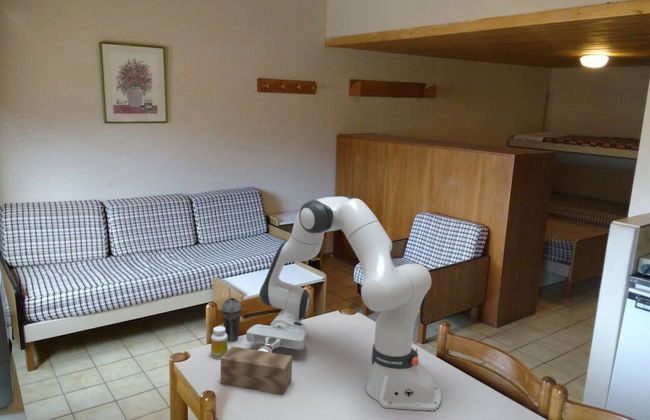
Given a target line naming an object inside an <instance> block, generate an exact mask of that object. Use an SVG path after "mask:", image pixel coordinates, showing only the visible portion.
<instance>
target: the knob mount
mask: <svg viewBox="0 0 650 420" xmlns="http://www.w3.org/2000/svg"><path fill="white" fill-rule="evenodd" d="M292 369H293V355H288V354H281V353H277V352H276V353H275V352H272V353H270V352H264V351H258V349H252V348H251V349H250V348H245V347H244V348H243V347H239V346H234V345H233V346H230V347H229V349H228V351H227V352H226V353H225V354H224V355H223V356H222V357H221V359H220V385H225V386H230V387H236V388H240V389H242V388H243V389H248V390H253V391H258V392H263V393H269V394H275V395H280V396H284V395H285V393H286V391H287V389H288V388H289V386H290V384H291V383H292V379H293V378H292V374H293V373H292V372H293V370H292Z"/></svg>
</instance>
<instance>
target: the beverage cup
mask: <svg viewBox="0 0 650 420" xmlns="http://www.w3.org/2000/svg"><path fill="white" fill-rule="evenodd" d="M228 296H229V297H228V298H227V299H226V300H224V301H223V303H222V304H221V315H222V322H223V323H222V325H223V327H225V333H226V334H227V336H228V343H235V342H238V340H239V339H238V338H239V332H240V322H241V314H242V311H243V308H242V305H241V302H240V301H239V300H238V298H234V297H232V294H231V287H228Z"/></svg>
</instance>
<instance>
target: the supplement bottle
mask: <svg viewBox="0 0 650 420" xmlns="http://www.w3.org/2000/svg"><path fill="white" fill-rule="evenodd" d="M212 330H213V331H212V334H211V337H210V342H211V343H210V345H211V346H210V352H211V353H210V354H211V357H212V358H213V359H216V360H221V357H222V356H223V355H224V354H225V353H226V352H227V351H228V350H229V349H228V344H229V342H228V336H227V334H226V333H225V327H224V325H223V326H221V325H217V326H215V327H213V329H212Z"/></svg>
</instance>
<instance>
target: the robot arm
mask: <svg viewBox="0 0 650 420" xmlns="http://www.w3.org/2000/svg"><path fill="white" fill-rule="evenodd" d="M339 230H341V232H343V234H344V235H345V238H346V240H348V243H349V244H350V246H351V248H352V250H353V251H354V254H355V255H356V257H357V259H358V261H359V263H360V265H361V266H360V267H361V269H362V275H363V283H362V285H361V288H360V292H361V295H360V296H361V298H362V301H363V304H364V305H365V306H366V307H367V309H369V310H370V311H372V312H377V313H378V312H379V313H380V312H381V313H380V314H379V315H378V317H377V319H376V322H375V329H374V330H375V332H374V343H373V345H372V349H371V364H372V365H371V369H370V374H369V377H368V380H367V383H366V386H365V391H366V392H367V394H368V395H369V396H370V397H371V398H372V399H374V400H375V401H377V402H378V404H380V406H381V407H383V408H385V409H399V410H411V411H412V410H413V411H414V410H415V411H426V412H427V410H428V411H429V410H430V411H431V412H435V411H436V410H438V409H437V408H440V406H441V404H440V403H442V391H441V389H440V387H439V386H438V384H436V383H435V380H434V376H433V374H432V372H431V370H430V369H428V368H427V367H426V366H425V365H423V364H422V363H421V362H419V361H420V359H419V353H418V348H415V349H414V348H413V338H414V328H415V324H416V320H417V317H418V314H419V311H420V308H421V305H422V303H423V301H424V298H425V296H426V295H427V293H428V291H429V290H430V289H431V287H432V277H431V274H430V271H429V270H428V268H426V266H424V265H422V264H420V263H404V264H402V265H398V266H395V265H394V263H393V260H392V256H391V251H392V249H393V241H392V239H390V236H389V235H388V234H387V232H386V230H385V229H384V227H383V225H382V224H381V223H380V221H379V219H378V218H377V216H376V215H375V213H373V211H372V210H371V209H370V208H369V206H368V205H367V204H366V203H365V202H364V201H363V200H361V199H360V198H356V197H353V196H350V195H340V196H325V197H321V198H317V199H312V200H310V201H309V200H308V201H307V202H305V203H304V204H302V205H301V207H300V209H299V210H298V212H297V215H296V217H295V220H294V223H293V226H292V230H291V235H290V238H289V239H288V240H287V241H283V242H282V243H281V244H280V245H279V247H278V249H277V251H276V253H275V254H274V257H273V259H272V262H271V264H270V267H269V270H268V272H267V274H266V277H265V280H264V281H263V283H262V284H261V287H260V289H259V293H258V296H259V299H260V301H261V302H262V304H263V305H265V306H270V307H274V308H278V309H280V312H279V313H278V314H277V316H276V317H275V318H274V319H273V321H272V322H271V323H270V325H267V324H266V325H264V324H260V323H258V324H254V325H252V326H251V327H250V328H248V329H247V330H246V334H245V335H246V338H245V339H246V341H247V342H250V343H255V344H260V345H261V344H263V345H264V346H266V347H268V348H270V349H271V351H274V350H275V349H277V348H279V347H280V348H287V349H292V350H293V349H294V350H303V349H304V348H305V345H306V336H307V329H306V324H304V323H302V322H303V319H304V318H305V317H306V315H307V314H308V312H309V308H310V306H311V295H310V293H309V291H308V289H306V288H305V287H301V286H298V285H295V284H292V283H289V282H286V281H283V280H281V279H280V276H281V273H282V271H283V268H284V266H285V264H286V263H287V264H288V263H292V262H306V261H309V260H312V259H314V258H315V257H317V256H318V255H319V253H320V252H321V249H322V245H323V242H324V237H325V236H324V235H325V233H327V232H334V231H335V232H336V231H339ZM439 405H440V406H439ZM434 410H435V411H434ZM430 411H429V412H430Z"/></svg>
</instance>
